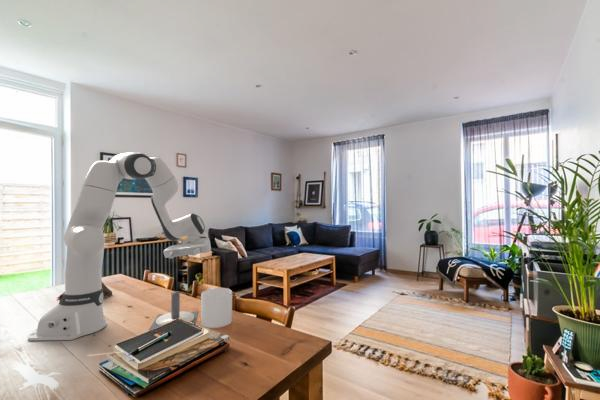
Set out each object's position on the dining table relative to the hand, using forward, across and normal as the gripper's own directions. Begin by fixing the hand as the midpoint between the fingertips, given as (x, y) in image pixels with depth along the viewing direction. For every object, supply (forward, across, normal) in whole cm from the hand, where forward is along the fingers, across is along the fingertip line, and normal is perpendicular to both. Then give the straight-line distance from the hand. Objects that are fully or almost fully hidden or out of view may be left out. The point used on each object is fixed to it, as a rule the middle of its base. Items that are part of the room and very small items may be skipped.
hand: (182, 255), depth 128 cm
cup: (+16, +14, +24) cm, 32 cm away
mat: (+14, -2, +22) cm, 26 cm away
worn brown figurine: (-18, -51, +22) cm, 58 cm away
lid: (+14, -2, +22) cm, 26 cm away
